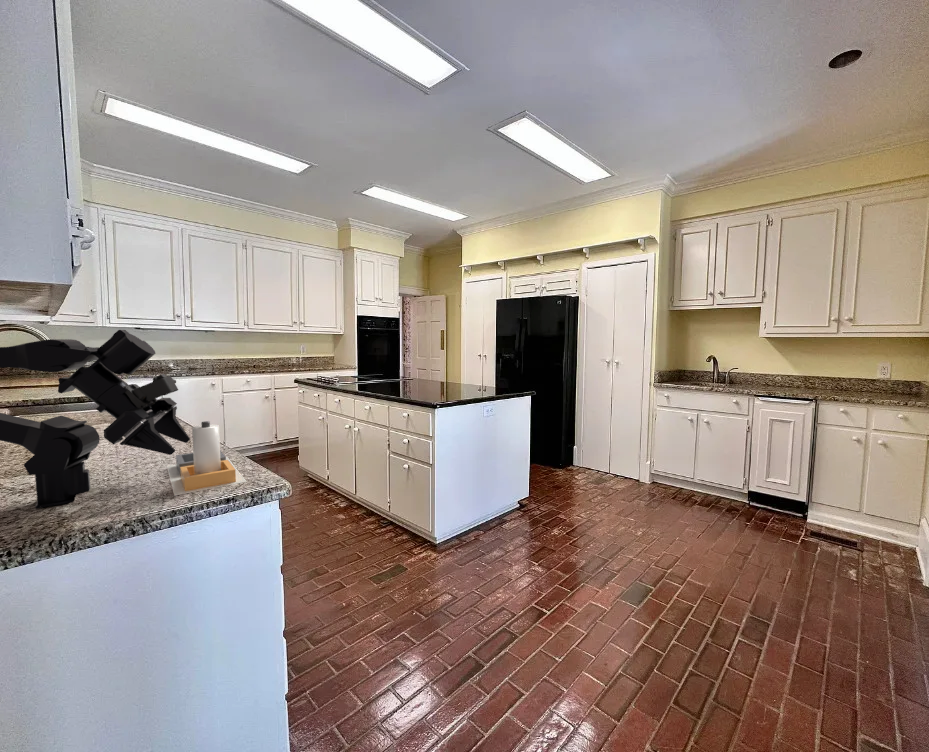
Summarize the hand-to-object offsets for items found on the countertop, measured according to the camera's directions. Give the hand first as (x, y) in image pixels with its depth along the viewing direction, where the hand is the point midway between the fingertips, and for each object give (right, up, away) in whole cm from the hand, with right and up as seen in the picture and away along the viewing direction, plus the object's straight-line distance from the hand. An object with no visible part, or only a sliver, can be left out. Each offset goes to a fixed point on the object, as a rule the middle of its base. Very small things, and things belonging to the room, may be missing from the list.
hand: (181, 446), depth 81 cm
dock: (+1, -8, +6) cm, 10 cm away
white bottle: (+4, -7, +2) cm, 9 cm away
